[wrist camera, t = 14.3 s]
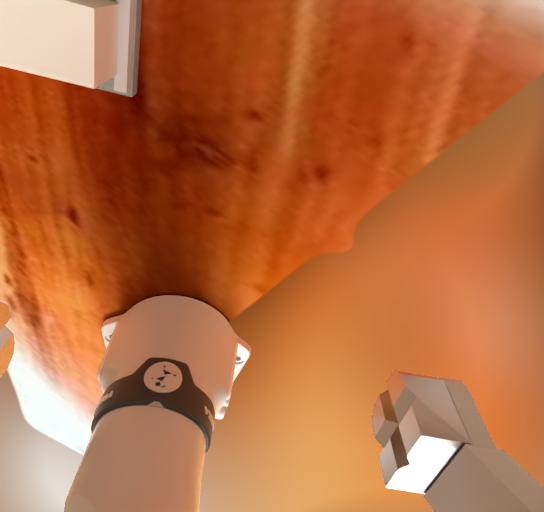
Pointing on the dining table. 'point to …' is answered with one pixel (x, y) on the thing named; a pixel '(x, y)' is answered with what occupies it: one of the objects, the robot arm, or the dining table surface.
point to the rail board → (74, 41)
